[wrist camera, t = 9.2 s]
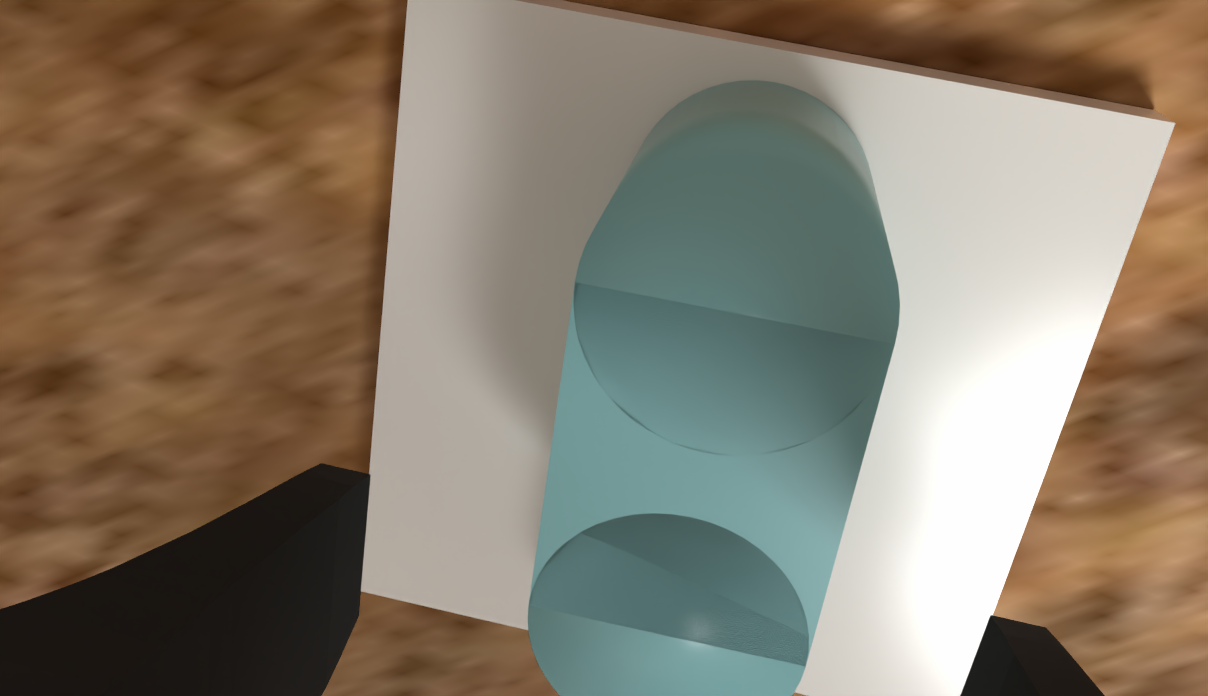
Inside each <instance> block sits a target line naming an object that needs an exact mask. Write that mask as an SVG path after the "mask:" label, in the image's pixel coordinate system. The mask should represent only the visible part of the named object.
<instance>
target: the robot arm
mask: <svg viewBox="0 0 1208 696" xmlns="http://www.w3.org/2000/svg"><path fill="white" fill-rule="evenodd" d="M370 477H371V475H370V474H366V473H361V472H357V471H353V470H348V469H344V468H339V467H335V466H331V465H326V464H322V463H321V464H319V465H317V466H315V467H313V468H310V469H308V470H306V471H304V472H303V473H301V474H299V475H297V476H295V477H293V478H291V479H289V480H288V481H286V482H284V483H282V484H280V485H278V486H277V487H275V488H273V489H271V490H269V491H267V492H266V493H264V494H262V495H260V496H258V497H256V498H254V499H253V500H251V501H249V502H247V503H245V504H243V505H241V506H239V507H238V508H236V509H234V510H232V511H230V512H228V513H226V514H224V515H222V516H220V517H218V518H217V519H215V520H213V521H211V522H209V523H207V524H205V525H203V526H201V527H199V528H197V529H196V530H194V531H192V532H190V533H187V534H185V535H183V536H181V537H179V538H177V539H175V540H172V541H170V542H168V543H166V544H164V545H162V546H159V547H157V548H155V549H153V550H151V551H149V552H146V553H144V554H142V555H140V556H138V557H136V558H134V559H131V560H129V561H127V562H125V563H123V564H121V565H118V566H116V567H114V568H112V569H109V570H107V571H104V572H102V573H100V574H97V575H95V576H92V577H90V578H87V579H85V580H82V581H80V582H77V583H74V584H72V585H69V586H66V587H64V588H61V589H58V590H55V591H52V592H50V593H47V594H44V595H41V596H39V597H36V598H33V599H30V600H27V601H25V602H21V603H18V604H15V605H12V606H9V607H6V608H3V609H0V696H321V695H322V693H323V692H324V690H325V688H326V686H327V684H328V682H329V680H330V678H331V676H332V674H333V672H334V669H335V667H336V665H337V663H338V661H339V659H340V657H341V655H342V652H343V650H344V648H345V646H346V643H347V641H348V639H349V637H350V634H351V632H352V630H353V628H354V625H355V623H356V621H357V619H358V616H359V606H360V594H361V583H362V571H363V559H364V547H365V536H366V524H367V512H368V501H369V489H370ZM960 696H1104V694H1103V693H1102V692H1101V691H1100V690H1099V689H1098V687H1097V686H1096V685H1095V684H1094V683H1093V681H1092V680H1091V679H1090V678H1089V677H1088V675H1087V674H1086V673H1085V672H1084V671H1083V669H1082V668H1081V667H1080V666H1079V665H1078V663H1077V662H1076V661H1075V660H1074V659H1073V658H1072V656H1071V655H1070V654H1069V653H1068V652H1067V651H1066V649H1065V648H1064V647H1063V646H1062V645H1061V644H1060V642H1059V641H1058V640H1057V639H1056V638H1055V637H1054V636H1053V635H1052V634H1051V633H1050V632H1049V631H1048V629H1047V628H1045V627H1041V626H1036V625H1032V624H1027V623H1023V622H1019V621H1014V620H1010V619H1005V618H1001V617H996V616H992V615H990V618H989V620H988V623H987V626H986V628H985V631H984V634H983V636H982V639H981V642H980V644H979V647H978V650H977V652H976V655H975V658H974V660H973V663H972V666H971V668H970V671H969V674H968V676H967V679H966V682H965V685H964V687H963V690H962V693H961V695H960Z"/></svg>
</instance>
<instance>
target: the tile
mask: <svg viewBox="0 0 1208 696" xmlns="http://www.w3.org/2000/svg"><path fill="white" fill-rule="evenodd" d="M748 80H759V81H769V82H776V83H780V84H784V85H788V86H791V87H794V88H796V89H799V90H801V91H804V92H806V93H808V94H810V95H812V96H813V97H815V98H817V99H819V100H820V101H822V102H823V103H824V104H826V105H827V106H828V107H830V108H831V109H832V110H834V111H835V112H836V113H837V114H838V115H839V116H840V117H841V118H842V119H843V120H844V121H845V122H846V124H847V125H848V126H849V128H850V129H851V130H852V132H853V133H854V134H855V136H856V138H857V139H858V141H859V143H860V145H861V146H862V148H863V150H864V153H865V156H866V158H867V161H868V163H869V167H870V171H871V175H872V179H873V183H874V187H875V191H876V195H877V199H878V203H879V207H880V211H881V215H882V219H883V223H884V227H885V232H886V236H887V240H888V244H889V248H890V252H891V256H892V260H893V264H894V268H895V272H896V276H897V281H898V287H899V298H900V314H899V326H898V331H897V336H896V341H895V346H894V349H893V353H892V357H891V360H890V364H889V367H888V371H887V375H886V378H885V382H884V385H883V389H882V393H881V396H880V400H879V404H878V407H877V411H876V414H875V418H874V422H873V425H872V429H871V432H870V436H869V440H868V443H867V447H866V451H865V454H864V458H863V461H862V465H861V469H860V472H859V476H858V480H857V483H856V487H855V490H854V494H853V498H852V501H851V505H850V508H849V512H848V516H847V519H846V523H845V527H844V530H843V534H842V537H841V541H840V545H839V548H838V552H837V555H836V559H835V563H834V566H833V570H832V574H831V577H830V581H829V584H828V588H827V592H826V595H825V599H824V602H823V606H822V610H821V613H820V617H819V621H818V624H817V628H816V631H815V635H814V639H813V642H812V646H811V650H810V653H809V657H808V660H807V664H806V667H805V670H804V673H803V676H802V678H801V681H800V683H799V685H798V686H797V688H796V690H795V693H799V694H803V695H808V696H960V695H961V693H962V690H963V687H964V685H965V682H966V679H967V676H968V674H969V671H970V668H971V666H972V663H973V660H974V658H975V655H976V652H977V650H978V647H979V644H980V642H981V639H982V636H983V634H984V631H985V628H986V626H987V623H988V620H989V618H990V615H993V612H994V610H995V607H996V604H997V602H998V599H999V596H1000V594H1001V591H1002V588H1003V586H1004V583H1005V580H1006V577H1007V575H1008V572H1009V569H1010V567H1011V564H1012V561H1013V559H1014V556H1015V553H1016V551H1017V548H1018V545H1019V542H1020V540H1021V537H1022V534H1023V532H1024V529H1025V526H1026V524H1027V521H1028V518H1029V516H1030V513H1031V510H1032V507H1033V505H1034V502H1035V499H1036V497H1037V494H1038V491H1039V489H1040V486H1041V483H1042V481H1043V478H1044V475H1045V472H1046V470H1047V467H1048V464H1049V462H1050V459H1051V456H1052V454H1053V451H1054V448H1055V446H1056V443H1057V440H1058V437H1059V435H1060V432H1061V429H1062V427H1063V424H1064V421H1065V419H1066V416H1067V413H1068V411H1069V408H1070V405H1071V403H1072V400H1073V397H1074V394H1075V392H1076V389H1077V386H1078V384H1079V381H1080V378H1081V376H1082V373H1083V370H1084V368H1085V365H1086V362H1087V359H1088V357H1089V354H1090V351H1091V349H1092V346H1093V343H1094V341H1095V338H1096V335H1097V333H1098V330H1099V327H1100V324H1101V322H1102V319H1103V316H1104V314H1105V311H1106V308H1107V306H1108V303H1109V300H1110V298H1111V295H1112V292H1113V289H1114V287H1115V284H1116V281H1117V279H1118V276H1119V273H1120V271H1121V268H1122V265H1123V263H1124V260H1125V257H1126V254H1127V252H1128V249H1129V246H1130V244H1131V241H1132V238H1133V236H1134V233H1135V230H1136V228H1137V225H1138V222H1139V219H1140V217H1141V214H1142V211H1143V209H1144V206H1145V203H1146V201H1147V198H1148V195H1149V193H1150V190H1151V187H1152V184H1153V182H1154V179H1155V176H1156V174H1157V171H1158V168H1159V166H1160V163H1161V160H1162V158H1163V155H1164V152H1165V150H1166V147H1167V144H1168V141H1169V139H1170V136H1171V133H1172V131H1173V128H1174V125H1175V123H1174V122H1173V121H1171V120H1170V119H1168V118H1167V117H1165V116H1164V115H1162V114H1161V113H1159V112H1158V111H1156V110H1151V109H1146V108H1141V107H1135V106H1130V105H1124V104H1119V103H1114V102H1108V101H1103V100H1098V99H1092V98H1087V97H1081V96H1076V95H1071V94H1065V93H1060V92H1054V91H1049V90H1044V89H1038V88H1033V87H1027V86H1022V85H1017V84H1011V83H1006V82H1000V81H995V80H990V79H984V78H979V77H974V76H968V75H963V74H957V73H952V72H947V71H941V70H936V69H930V68H925V67H920V66H914V65H909V64H903V63H898V62H893V61H887V60H882V59H876V58H871V57H866V56H860V55H855V54H849V53H844V52H839V51H833V50H828V49H823V48H817V47H812V46H806V45H801V44H796V43H790V42H785V41H779V40H774V39H769V38H763V37H758V36H752V35H747V34H742V33H736V32H731V31H725V30H720V29H715V28H709V27H704V26H698V25H693V24H688V23H682V22H677V21H672V20H666V19H661V18H655V17H650V16H645V15H639V14H634V13H628V12H623V11H618V10H612V9H607V8H601V7H596V6H591V5H585V4H580V3H574V2H569V1H564V0H408V3H407V15H406V27H405V40H404V52H403V64H402V77H401V89H400V101H399V113H398V126H397V138H396V150H395V162H394V175H393V187H392V199H391V211H390V224H389V236H388V248H387V261H386V273H385V285H384V297H383V310H382V322H381V334H380V346H379V359H378V371H377V383H376V396H375V408H374V420H373V432H372V445H371V457H370V469H369V474H370V475H371V477H370V489H369V501H368V512H367V524H366V536H365V547H364V559H363V571H362V583H361V591H362V592H366V593H370V594H375V595H379V596H383V597H388V598H392V599H396V600H400V601H405V602H409V603H413V604H418V605H422V606H426V607H430V608H435V609H439V610H443V611H448V612H452V613H456V614H460V615H465V616H469V617H473V618H478V619H482V620H486V621H490V622H495V623H499V624H503V625H508V626H512V627H516V628H520V629H525V630H528V605H529V598H530V591H531V584H532V577H533V570H534V563H535V556H536V549H537V542H538V535H539V528H540V521H541V514H542V507H543V500H544V493H545V486H546V479H547V472H548V465H549V458H550V451H551V444H552V437H553V431H554V424H555V417H556V410H557V403H558V396H559V389H560V382H561V375H562V368H563V361H564V354H565V347H566V340H567V333H568V326H569V319H570V312H571V305H572V298H573V291H574V284H575V279H576V274H577V269H578V265H579V261H580V258H581V256H582V253H583V250H584V248H585V245H586V243H587V241H588V239H589V237H590V235H591V233H592V231H593V230H594V228H595V226H596V224H597V222H598V221H599V219H600V217H601V215H602V214H603V212H604V210H605V208H606V207H607V205H608V203H609V201H610V200H611V198H612V196H613V194H614V193H615V191H616V189H617V187H618V186H619V184H620V182H621V181H622V179H623V177H624V175H625V174H626V172H627V170H628V168H629V167H630V165H631V163H632V161H633V160H634V158H635V156H636V154H637V153H638V151H639V149H640V147H641V146H642V144H643V142H644V140H645V139H646V137H647V136H648V134H649V133H650V132H651V130H652V129H653V127H654V126H655V125H656V124H657V123H658V122H659V121H660V120H661V118H662V117H663V116H664V115H665V114H666V113H667V112H669V111H670V110H671V109H672V108H674V107H675V106H676V105H677V104H679V103H680V102H682V101H683V100H685V99H687V98H688V97H690V96H691V95H693V94H695V93H698V92H700V91H702V90H704V89H707V88H710V87H713V86H716V85H720V84H723V83H729V82H735V81H748Z"/></svg>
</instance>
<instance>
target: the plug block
mask: <svg viewBox="0 0 1208 696" xmlns="http://www.w3.org/2000/svg"><path fill="white" fill-rule="evenodd" d="M899 314H900V298H899V287H898V281H897V276H896V272H895V268H894V264H893V260H892V256H891V252H890V248H889V244H888V240H887V236H886V232H885V227H884V223H883V219H882V215H881V211H880V207H879V203H878V199H877V195H876V191H875V187H874V183H873V179H872V175H871V171H870V167H869V163H868V161H867V158H866V156H865V153H864V150H863V148H862V146H861V145H860V143H859V141H858V139H857V138H856V136H855V134H854V133H853V132H852V130H851V129H850V128H849V126H848V125H847V124H846V122H845V121H844V120H843V119H842V118H841V117H840V116H839V115H838V114H837V113H836V112H835V111H834V110H832V109H831V108H830V107H828V106H827V105H826V104H824V103H823V102H822V101H820V100H819V99H817V98H815V97H813V96H812V95H810V94H808V93H806V92H804V91H801V90H799V89H796V88H794V87H791V86H788V85H784V84H780V83H776V82H769V81H759V80H748V81H735V82H729V83H723V84H720V85H716V86H713V87H710V88H707V89H704V90H702V91H700V92H698V93H695V94H693V95H691V96H690V97H688V98H687V99H685V100H683V101H682V102H680V103H679V104H677V105H676V106H675V107H674V108H672V109H671V110H670V111H669V112H667V113H666V114H665V115H664V116H663V117H662V118H661V120H660V121H659V122H658V123H657V124H656V125H655V126H654V127H653V129H652V130H651V132H650V133H649V134H648V136H647V137H646V139H645V140H644V142H643V144H642V146H641V147H640V149H639V151H638V153H637V154H636V156H635V158H634V160H633V161H632V163H631V165H630V167H629V168H628V170H627V172H626V174H625V175H624V177H623V179H622V181H621V182H620V184H619V186H618V187H617V189H616V191H615V193H614V194H613V196H612V198H611V200H610V201H609V203H608V205H607V207H606V208H605V210H604V212H603V214H602V215H601V217H600V219H599V221H598V222H597V224H596V226H595V228H594V230H593V231H592V233H591V235H590V237H589V239H588V241H587V243H586V245H585V248H584V250H583V253H582V256H581V258H580V261H579V265H578V269H577V274H576V279H575V284H574V291H573V298H572V305H571V312H570V319H569V326H568V333H567V340H566V347H565V354H564V361H563V368H562V375H561V382H560V389H559V396H558V403H557V410H556V417H555V424H554V431H553V437H552V444H551V451H550V458H549V465H548V472H547V479H546V486H545V493H544V500H543V507H542V514H541V521H540V528H539V535H538V542H537V549H536V556H535V563H534V570H533V577H532V584H531V591H530V598H529V605H528V631H529V638H530V642H531V646H532V650H533V652H534V655H535V657H536V660H537V662H538V665H539V666H540V668H541V670H542V672H543V674H544V675H545V677H546V679H547V680H548V681H549V683H550V684H551V685H552V687H553V688H554V689H555V691H556V692H557V693H558V694H559V695H560V696H792V695H793V693H794V692H795V690H796V688H797V686H798V685H799V683H800V681H801V678H802V676H803V673H804V670H805V667H806V664H807V660H808V657H809V653H810V650H811V646H812V642H813V639H814V635H815V631H816V628H817V624H818V621H819V617H820V613H821V610H822V606H823V602H824V599H825V595H826V592H827V588H828V584H829V581H830V577H831V574H832V570H833V566H834V563H835V559H836V555H837V552H838V548H839V545H840V541H841V537H842V534H843V530H844V527H845V523H846V519H847V516H848V512H849V508H850V505H851V501H852V498H853V494H854V490H855V487H856V483H857V480H858V476H859V472H860V469H861V465H862V461H863V458H864V454H865V451H866V447H867V443H868V440H869V436H870V432H871V429H872V425H873V422H874V418H875V414H876V411H877V407H878V404H879V400H880V396H881V393H882V389H883V385H884V382H885V378H886V375H887V371H888V367H889V364H890V360H891V357H892V353H893V349H894V346H895V341H896V336H897V331H898V326H899Z"/></svg>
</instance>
